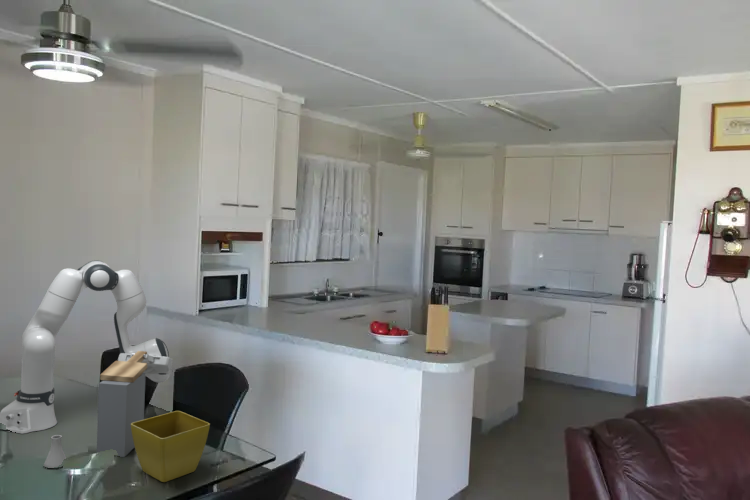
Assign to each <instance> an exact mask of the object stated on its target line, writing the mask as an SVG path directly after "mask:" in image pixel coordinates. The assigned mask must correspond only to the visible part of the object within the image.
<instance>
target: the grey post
mask: <svg viewBox="0 0 750 500" xmlns="http://www.w3.org/2000/svg"><path fill="white" fill-rule="evenodd" d="M145 374H146V373H142V374H141V375H140V376H139V377H138V378H137V379H136V380H135V381H134V383H133V382H121V381H108V380H101V381H100V382H98V391H97V392H98V393H97V394H98V397H97V399H98V400H97V423H96V424H97V431H96V432H97V433H96V453H97V452H100V451H105V450H110V449H113V450H116V451H117V453H118V456H120V458H125V457H126V456H127V455H129V454H130V452H131V451H132V450H133V449H135V446H134V441H133V437H132V431H131V423H133V422H137V421H141V420H144V419H145V400H146V399H145V396H146V395H145V394H146V376H145Z"/></svg>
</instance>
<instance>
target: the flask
mask: <svg viewBox="0 0 750 500" xmlns="http://www.w3.org/2000/svg"><path fill="white" fill-rule="evenodd" d="M50 439H51V444H50V448H49V451H48V453H47V456H46V458H45V461H44V463H43V466H45V467H48V468H54V467H58V466H59V465H61V464H62V462H63V460H64V459H66V458H67V456H66V453H65V452H64V448H63V445H62V439H63V436H62V435H60V434H55V435H52V436H51V437H50ZM43 466H42V467H43ZM45 467H44V468H45Z"/></svg>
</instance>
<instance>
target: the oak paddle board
mask: <svg viewBox="0 0 750 500" xmlns="http://www.w3.org/2000/svg"><path fill="white" fill-rule="evenodd" d="M144 354H147V352H146V351H138V352H136V353H135V354H134V355H133V356H132V357H131V358H130V359H129V360H128V361H127V362H126V361H118V360H115V361H114V362H112V363H111V364H110V365H109V366H108V367H107V368H106V369H105V370H103V372H101V374H99V376H100V377H99V379H100V381H103V380H108V381H121V382H133V383H134V381H135V380H136V379H137V378H138V377H139V376H140V375H141V374H142V373H143V372H144V371H145V370H146V369H147V363H141V362H142V361H143V360H144V359H143V355H144Z"/></svg>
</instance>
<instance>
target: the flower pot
mask: <svg viewBox="0 0 750 500" xmlns="http://www.w3.org/2000/svg"><path fill="white" fill-rule="evenodd" d="M210 425H211V423H209V422H208V421H205V420H203V419H200V418H198V417H195V416H193V415H190V414H188V413H186V412H183V411H181V410H175V411H170V412H167V413H164V414H160V415H156V416H153V417H149V418H144V420H141V421H137V422H133V423H131V431H132V437H133V441H134V446H135V448H134V449H135V452H136V456H137V458H138V462H139V464H140V467H141V470H142V471H143V472H144V473H145V474H147V475H149V476H151V477H152V478H154V479H156V480H158V481H160V482H161V483H167V482H170V481H172V480H175V479H177V478H180V477H183V476H185V475H188V474H190V473H194V472H195V471H196V470H197V467H198V465H199V463H200V460H201V459H202V456H203V453H204V450H205V446H206V443H207V441H208V435H209V431H210Z"/></svg>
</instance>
